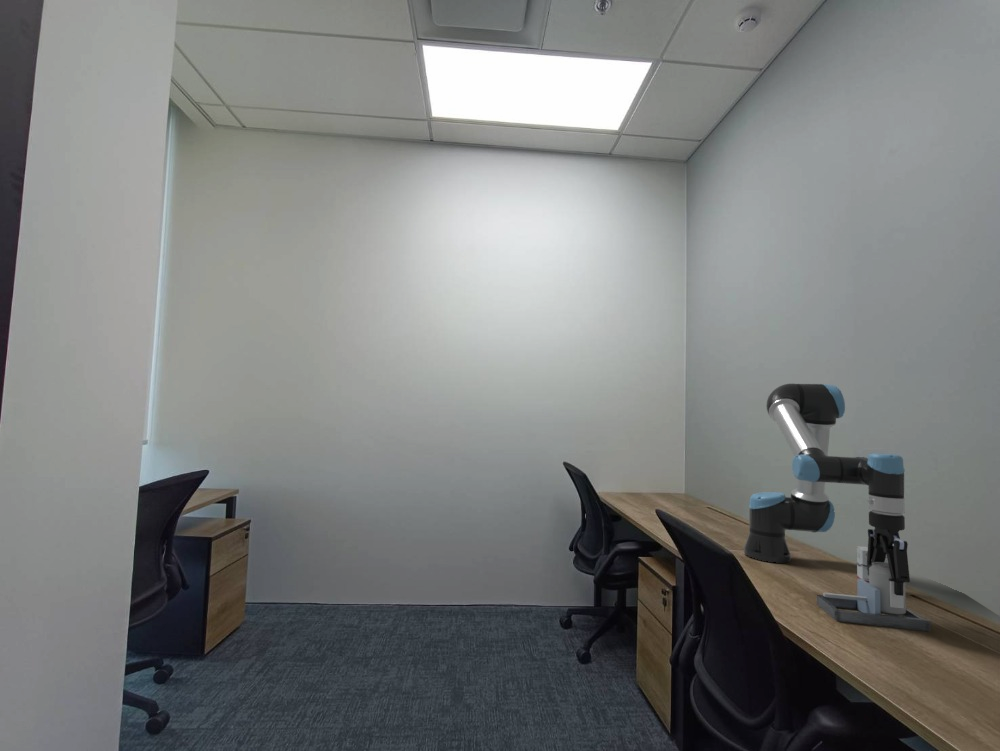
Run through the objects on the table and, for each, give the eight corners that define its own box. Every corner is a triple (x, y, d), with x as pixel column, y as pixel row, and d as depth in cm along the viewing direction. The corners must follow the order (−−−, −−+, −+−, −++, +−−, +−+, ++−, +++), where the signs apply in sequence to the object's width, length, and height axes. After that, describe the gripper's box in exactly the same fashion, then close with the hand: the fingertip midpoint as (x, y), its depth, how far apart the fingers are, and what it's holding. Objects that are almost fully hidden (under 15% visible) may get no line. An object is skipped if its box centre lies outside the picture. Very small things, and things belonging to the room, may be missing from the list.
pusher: (816, 604, 137) (816, 574, 137) (862, 609, 135) (862, 579, 135) (831, 617, 128) (831, 585, 129) (880, 622, 126) (880, 590, 127)
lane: (816, 604, 138) (816, 594, 138) (902, 613, 134) (902, 603, 134) (836, 621, 127) (836, 611, 127) (930, 631, 123) (930, 621, 123)
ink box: (861, 588, 152) (861, 549, 153) (856, 583, 157) (856, 545, 158) (896, 593, 149) (895, 553, 150) (889, 588, 154) (889, 549, 155)
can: (912, 619, 125) (911, 570, 126) (879, 615, 127) (878, 567, 128) (895, 607, 133) (894, 561, 133) (864, 604, 134) (863, 559, 135)
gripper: (851, 504, 142) (851, 586, 141) (892, 519, 122) (894, 615, 121) (880, 506, 141) (881, 589, 139) (927, 522, 121) (929, 618, 119)
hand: (887, 601), depth 130 cm, fingers closed on can, 7 cm apart
